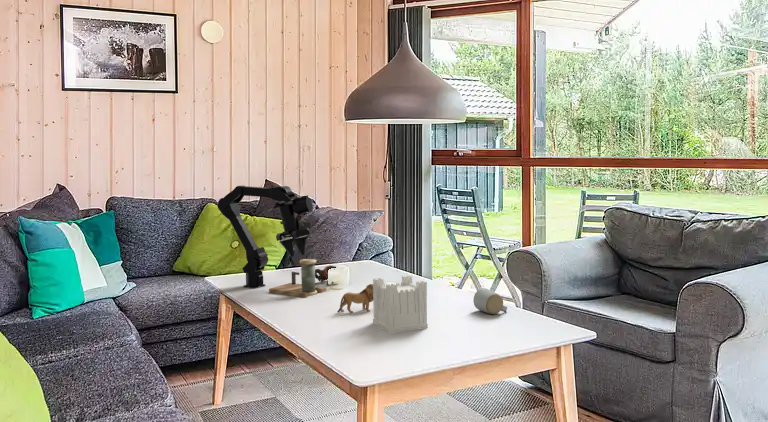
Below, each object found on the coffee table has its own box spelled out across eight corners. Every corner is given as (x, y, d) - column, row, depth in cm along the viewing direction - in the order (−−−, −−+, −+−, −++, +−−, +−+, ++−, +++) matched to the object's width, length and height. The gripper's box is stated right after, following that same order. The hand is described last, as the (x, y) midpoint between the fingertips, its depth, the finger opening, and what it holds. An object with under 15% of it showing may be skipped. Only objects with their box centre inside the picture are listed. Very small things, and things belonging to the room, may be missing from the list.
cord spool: (298, 295, 252) (297, 261, 250) (302, 291, 258) (301, 258, 257) (314, 295, 251) (314, 261, 250) (318, 292, 257) (317, 259, 256)
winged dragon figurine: (339, 281, 281) (344, 266, 277) (337, 295, 273) (342, 280, 269) (312, 274, 280) (316, 259, 275) (309, 288, 271) (313, 273, 267)
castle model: (372, 322, 211) (372, 278, 209) (414, 317, 217) (414, 274, 215) (389, 332, 199) (389, 285, 198) (433, 327, 205) (433, 281, 204)
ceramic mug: (486, 316, 218) (487, 293, 217) (472, 311, 225) (473, 288, 224) (512, 313, 222) (513, 290, 222) (498, 308, 230) (498, 286, 229)
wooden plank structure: (269, 292, 257) (268, 276, 257) (290, 286, 268) (290, 270, 268) (305, 297, 248) (305, 280, 247) (326, 291, 259) (326, 274, 258)
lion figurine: (373, 307, 231) (373, 282, 231) (380, 310, 227) (379, 284, 226) (334, 312, 225) (334, 286, 224) (340, 315, 220) (339, 289, 220)
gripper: (317, 210, 259) (326, 249, 259) (295, 215, 274) (304, 252, 275) (292, 216, 252) (301, 256, 253) (271, 221, 268) (280, 258, 268)
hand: (297, 255), depth 262 cm, fingers open, 9 cm apart
